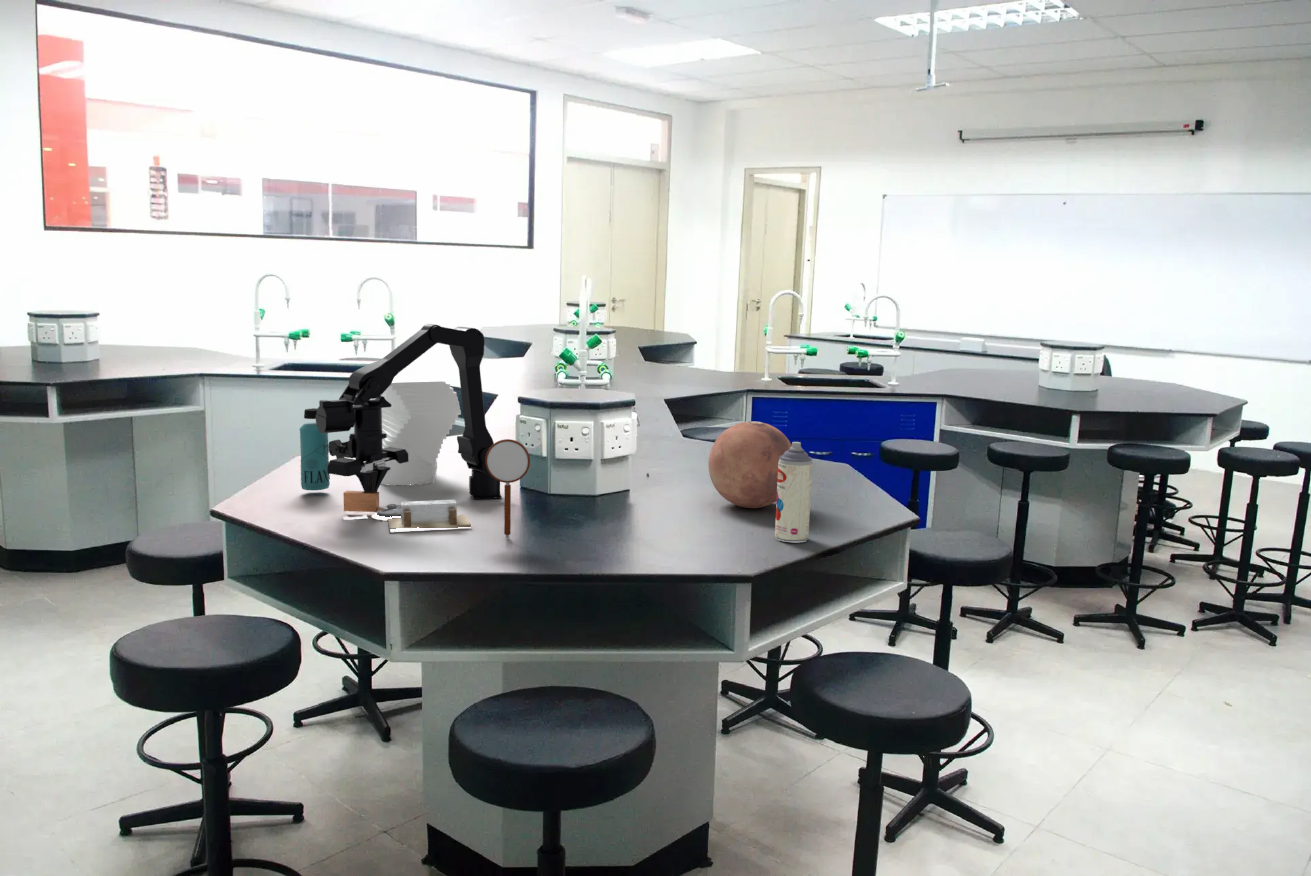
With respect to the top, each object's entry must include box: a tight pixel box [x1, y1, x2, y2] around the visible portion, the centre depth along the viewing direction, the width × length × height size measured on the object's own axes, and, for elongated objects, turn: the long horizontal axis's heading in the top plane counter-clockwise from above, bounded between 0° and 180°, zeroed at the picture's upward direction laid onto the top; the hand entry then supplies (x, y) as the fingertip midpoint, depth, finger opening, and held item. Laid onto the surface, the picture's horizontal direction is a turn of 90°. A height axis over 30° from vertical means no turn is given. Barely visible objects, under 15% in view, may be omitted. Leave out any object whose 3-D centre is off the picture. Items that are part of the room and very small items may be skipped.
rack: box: [387, 509, 472, 529], centre depth 197 cm, size 16×8×4 cm, turn 108°
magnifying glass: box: [485, 438, 531, 539], centre depth 187 cm, size 9×2×20 cm, turn 94°
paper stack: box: [380, 374, 462, 486], centre depth 242 cm, size 21×27×26 cm
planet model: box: [708, 420, 792, 509], centre depth 220 cm, size 20×20×20 cm
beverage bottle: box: [299, 408, 331, 491], centre depth 221 cm, size 6×7×20 cm
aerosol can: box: [774, 441, 813, 541], centre depth 193 cm, size 7×7×20 cm
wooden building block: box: [342, 490, 401, 517], centre depth 204 cm, size 6×13×4 cm, turn 88°
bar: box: [399, 499, 458, 525], centre depth 196 cm, size 11×3×4 cm, turn 108°
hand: (370, 500), depth 207 cm, fingers closed
